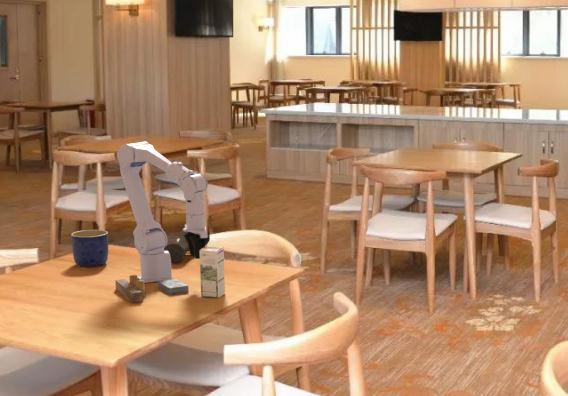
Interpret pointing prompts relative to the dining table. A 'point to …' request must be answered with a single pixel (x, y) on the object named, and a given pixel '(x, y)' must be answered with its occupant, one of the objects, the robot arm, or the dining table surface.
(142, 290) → the bench dog strip
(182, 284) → the steel plate
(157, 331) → the dining table surface
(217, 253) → the syrup box
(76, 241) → the planter
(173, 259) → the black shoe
